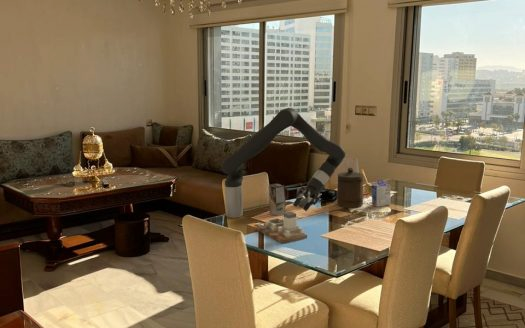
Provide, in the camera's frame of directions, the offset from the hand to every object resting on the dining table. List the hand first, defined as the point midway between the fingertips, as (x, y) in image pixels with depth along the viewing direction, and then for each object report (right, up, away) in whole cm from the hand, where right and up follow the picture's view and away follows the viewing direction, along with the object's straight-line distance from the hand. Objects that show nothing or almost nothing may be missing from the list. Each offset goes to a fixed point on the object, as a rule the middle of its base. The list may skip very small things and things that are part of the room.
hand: (299, 207), depth 232 cm
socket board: (-9, -13, +4) cm, 16 cm away
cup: (+7, -4, +52) cm, 53 cm away
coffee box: (-9, -7, +38) cm, 40 cm away
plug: (-4, -12, 0) cm, 13 cm away
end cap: (+23, -1, +62) cm, 66 cm away
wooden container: (+34, -3, +51) cm, 62 cm away
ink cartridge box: (+51, -3, +49) cm, 71 cm away
